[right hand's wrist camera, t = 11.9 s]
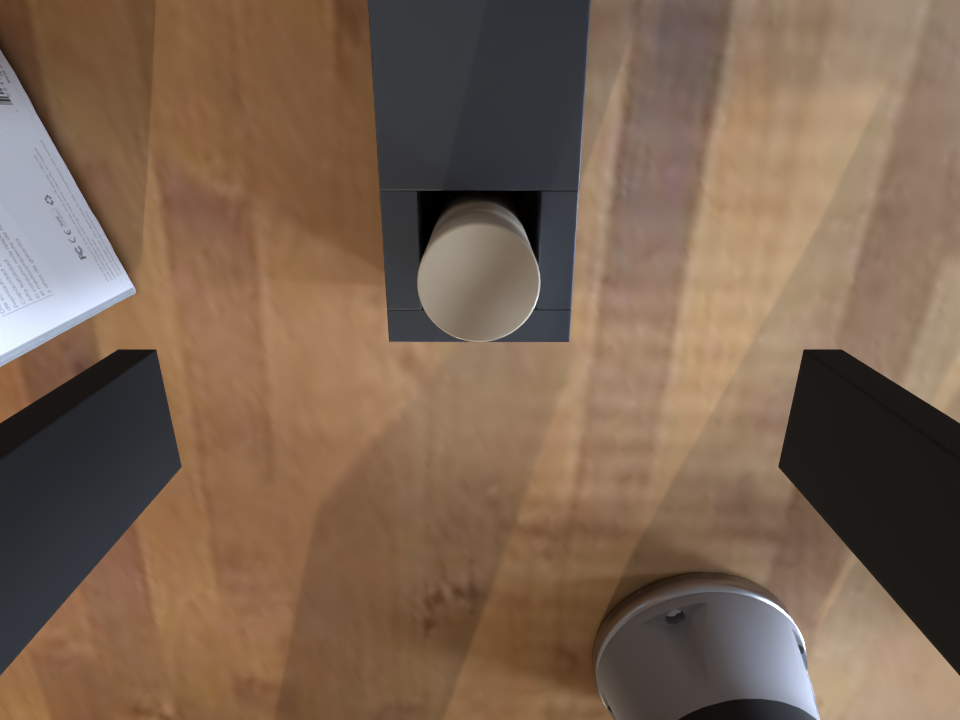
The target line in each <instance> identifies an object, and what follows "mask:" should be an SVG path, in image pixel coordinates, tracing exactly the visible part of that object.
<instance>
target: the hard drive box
mask: <svg viewBox="0 0 960 720" xmlns="http://www.w3.org/2000/svg"><path fill="white" fill-rule="evenodd" d="M135 293H136V290H135V288H134V286H133V284H132V282H131V281H130V279H129V277H128V275H127V273H126V272H125V270H124V268H123V266H122V264H121V263H120V261H119V259H118V258H117V256H116V254H115V252H114V250H113V248H112V245H111V244H110V242H109V241H108V239H107V237H106V235H105V233H104V231H103V229H102V228H101V226H100V224H99V222H98V220H97V219H96V217H95V216H94V214H93V213H92V211H91V210H90V208H89V206H88V204H87V202H86V200H85V199H84V197H83V195H82V194H81V192H80V190H79V188H78V186H77V185H76V183H75V181H74V179H73V177H72V175H71V174H70V172H69V170H68V168H67V166H66V165H65V163H64V161H63V160H62V158H61V156H60V154H59V153H58V151H57V149H56V147H55V146H54V144H53V142H52V140H51V138H50V136H49V135H48V133H47V131H46V129H45V127H44V125H43V124H42V122H41V120H40V119H39V117H38V115H37V114H36V112H35V110H34V108H33V105H32V103H31V100H30V99H29V97H28V95H27V94H26V92H25V90H24V89H23V87H22V85H21V83H20V81H19V80H18V78H17V76H16V74H15V72H14V71H13V69H12V68H11V66H10V64H9V63H8V61H7V60H6V58H5V57H4V55H3V53H2V52H1V50H0V367H1V366H3V365H5V364H6V363H8V362H10V361H12V360H14V359H16V358H17V357H19V356H21V355H23V354H25V353H27V352H28V351H30V350H32V349H34V348H36V347H38V346H39V345H41V344H43V343H45V342H47V341H48V340H50V339H52V338H54V337H56V336H57V335H59V334H61V333H63V332H65V331H67V330H68V329H70V328H72V327H74V326H76V325H78V324H80V323H81V322H83V321H85V320H87V319H89V318H91V317H92V316H94V315H96V314H98V313H100V312H101V311H103V310H105V309H107V308H109V307H110V306H112V305H114V304H116V303H118V302H120V301H122V300H124V299H126V298H128V297H130V296H131V295H134V294H135Z"/></svg>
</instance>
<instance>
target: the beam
mask: <svg viewBox="0 0 960 720" xmlns="http://www.w3.org/2000/svg"><path fill="white" fill-rule="evenodd" d="M590 2H591V0H368V10H369V26H370V42H371V58H372V74H373V91H374V107H375V123H376V139H377V155H378V171H379V187H380V190H381V191H380V203H381V219H382V235H383V251H384V267H385V283H386V299H387V309H388V310H387V315H388V331H389V342H472V341H465V340H462V339H458V338H456V337H453V336H451V335H449V334H447V333H446V332H444V331H443V330H441V329H440V328H439V327H438V326H437V325H436V324H434V323H433V321H432V320H431V319H430V318H429V317H428V315H427V313H426V312H425V310H424V308H423V306H422V304H421V301H420V298H419V294H418V288H417V277H418V270H419V266H420V263H421V260H422V258H423V255H424V253H425V250H426V248H427V245H428V243H429V240H430V238H431V235H432V233H433V230H434V227H435V219H434V191H525V212H524V230H525V233H526V235H527V238H528V240H529V243H530V246H531V248H532V251H533V253H534V256H535V258H536V261H537V264H538V267H539V272H540V292H539V297H538V300H537V303H536V306H535V308H534V310H533V312H532V313H531V315H530V316H529V318H528V319H527V320H526V321H525V322H524V323H523V324H522V325H521V326H520V327H519V328H518V329H516V330H515V331H513V332H512V333H510V334H508V335H507V336H505V337H502V338H499V339H496V340H492V341H486V342H569V341H570V325H571V308H572V293H573V276H574V260H575V244H576V228H577V212H578V195H579V192H578V190H579V180H580V164H581V147H582V131H583V115H584V99H585V83H586V66H587V50H588V34H589V18H590Z"/></svg>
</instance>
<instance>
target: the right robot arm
mask: <svg viewBox="0 0 960 720" xmlns="http://www.w3.org/2000/svg"><path fill="white" fill-rule="evenodd" d="M180 468H181V462H180V457H179V453H178V448H177V443H176V439H175V434H174V430H173V425H172V420H171V416H170V411H169V407H168V402H167V397H166V393H165V388H164V383H163V379H162V374H161V370H160V365H159V360H158V356H157V351H156V350H117V351H115V352H114V353H112V354H110V355H109V356H107V357H106V358H104V359H102V360H101V361H99V362H98V363H96V364H95V365H93V366H91V367H90V368H88V369H87V370H85V371H83V372H82V373H80V374H79V375H77V376H75V377H74V378H72V379H71V380H69V381H67V382H66V383H64V384H63V385H61V386H59V387H58V388H56V389H55V390H53V391H51V392H50V393H48V394H47V395H45V396H43V397H42V398H40V399H39V400H37V401H35V402H34V403H32V404H31V405H29V406H27V407H26V408H24V409H23V410H21V411H19V412H18V413H16V414H15V415H13V416H11V417H10V418H8V419H7V420H5V421H3V422H2V423H0V675H1V674H2V673H3V672H4V671H5V669H6V668H7V667H8V666H9V665H10V664H11V663H12V661H13V660H14V659H15V658H16V657H17V656H18V655H19V653H20V652H21V651H22V650H23V649H24V648H25V646H26V645H27V644H28V643H29V642H30V641H31V640H32V638H33V637H34V636H35V635H36V634H37V633H38V631H39V630H40V629H41V628H42V627H43V626H44V625H45V623H46V622H47V621H48V620H49V619H50V618H51V617H52V615H53V614H54V613H55V612H56V611H57V610H58V608H59V607H60V606H61V605H62V604H63V603H64V602H65V600H66V599H67V598H68V597H69V596H70V595H71V594H72V592H73V591H74V590H75V589H76V588H77V587H78V585H79V584H80V583H81V582H82V581H83V580H84V579H85V577H86V576H87V575H88V574H89V573H90V572H91V570H92V569H93V568H94V567H95V566H96V565H97V564H98V562H99V561H100V560H101V559H102V558H103V557H104V556H105V554H106V553H107V552H108V551H109V550H110V549H111V547H112V546H113V545H114V544H115V543H116V542H117V541H118V539H119V538H120V537H121V536H122V535H123V534H124V532H125V531H126V530H127V529H128V528H129V527H130V526H131V524H132V523H133V522H134V521H135V520H136V519H137V518H138V516H139V515H140V514H141V513H142V512H143V511H144V509H145V508H146V507H147V506H148V505H149V504H150V503H151V501H152V500H153V499H154V498H155V497H156V496H157V495H158V493H159V492H160V491H161V490H162V489H163V488H164V486H165V485H166V484H167V483H168V482H169V481H170V480H171V478H172V477H173V476H174V475H175V474H176V473H177V471H178V470H179V469H180ZM779 468H780V469H781V470H782V472H783V473H784V474H785V475H786V476H787V477H788V478H789V480H790V481H791V482H792V483H793V484H794V485H795V486H796V488H797V489H798V490H799V491H800V492H801V493H802V495H803V496H804V497H805V498H806V499H807V500H808V501H809V503H810V504H811V505H812V506H813V507H814V508H815V509H816V511H817V512H818V513H819V514H820V515H821V516H822V518H823V519H824V520H825V521H826V522H827V523H828V524H829V526H830V527H831V528H832V529H833V530H834V531H835V533H836V534H837V535H838V536H839V537H840V538H841V539H842V541H843V542H844V543H845V544H846V545H847V546H848V547H849V549H850V550H851V551H852V552H853V553H854V554H855V556H856V557H857V558H858V559H859V560H860V561H861V562H862V564H863V565H864V566H865V567H866V568H867V569H868V570H869V572H870V573H871V574H872V575H873V576H874V577H875V579H876V580H877V581H878V582H879V583H880V584H881V585H882V587H883V588H884V589H885V590H886V591H887V592H888V594H889V595H890V596H891V597H892V598H893V599H894V600H895V602H896V603H897V604H898V605H899V606H900V607H901V608H902V610H903V611H904V612H905V613H906V614H907V615H908V617H909V618H910V619H911V620H912V621H913V622H914V623H915V625H916V626H917V627H918V628H919V629H920V630H921V631H922V633H923V634H924V635H925V636H926V637H927V638H928V640H929V641H930V642H931V643H932V644H933V645H934V646H935V648H936V649H937V650H938V651H939V652H940V653H941V655H942V656H943V657H944V658H945V659H946V660H947V661H948V663H949V664H950V665H951V666H952V667H953V668H954V669H955V671H956V672H957V673H958V674H959V675H960V423H958V422H957V421H955V420H953V419H952V418H950V417H949V416H947V415H945V414H944V413H942V412H941V411H939V410H937V409H936V408H934V407H933V406H931V405H929V404H928V403H926V402H925V401H923V400H921V399H920V398H918V397H917V396H915V395H913V394H912V393H910V392H909V391H907V390H905V389H904V388H902V387H901V386H899V385H897V384H896V383H894V382H893V381H891V380H889V379H888V378H886V377H885V376H883V375H881V374H880V373H878V372H877V371H875V370H873V369H872V368H870V367H869V366H867V365H865V364H864V363H862V362H861V361H859V360H857V359H856V358H854V357H853V356H851V355H850V354H848V353H846V352H845V351H843V350H804V351H803V356H802V360H801V365H800V370H799V374H798V379H797V383H796V388H795V393H794V397H793V402H792V407H791V411H790V416H789V420H788V425H787V430H786V434H785V439H784V443H783V448H782V453H781V457H780V462H779ZM592 662H593V668H594V673H595V678H596V683H597V688H598V691H599V695H600V697H601V699H602V701H603V703H604V705H605V706H606V708H607V709H608V711H609V713H610V714H611V716H612V717H613V718H614V720H820V718H819V714H818V709H817V704H816V699H815V695H814V691H813V687H812V684H811V681H810V678H809V675H808V673H807V655H806V651H805V645H804V641H803V638H802V635H801V633H800V631H799V629H798V628H797V626H796V624H795V623H794V621H793V620H792V618H791V616H790V615H789V613H788V612H787V610H786V608H785V607H784V605H783V604H782V603H781V602H780V600H779V599H778V598H777V597H775V596H774V595H773V594H772V593H771V592H769V591H768V590H767V589H765V588H763V587H762V586H760V585H758V584H756V583H754V582H752V581H749V580H746V579H744V578H740V577H736V576H732V575H726V574H717V573H697V574H687V575H681V576H676V577H672V578H668V579H665V580H662V581H659V582H656V583H654V584H651V585H649V586H647V587H645V588H643V589H641V590H639V591H637V592H636V593H634V594H632V595H631V596H630V597H628V598H627V599H625V600H624V601H623V602H622V603H620V604H619V605H618V606H617V607H616V608H615V609H614V610H613V611H612V612H611V613H610V614H609V616H608V617H607V618H606V619H605V621H604V622H603V624H602V625H601V627H600V629H599V631H598V633H597V636H596V638H595V641H594V645H593V652H592Z"/></svg>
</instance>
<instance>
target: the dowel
mask: <svg viewBox="0 0 960 720" xmlns="http://www.w3.org/2000/svg"><path fill="white" fill-rule="evenodd" d="M417 288H418V294H419V298H420V301H421V304H422V306H423V308H424V310H425V312H426V313H427V315H428V317H429V318H430V319H431V320H432V321H433V323H434V324H436V325H437V326H438V327H439V328H440V329H441V330H443V331H444V332H446V333H447V334H449V335H451V336H453V337H456V338H458V339H462V340H465V341H472V342H486V341H492V340H496V339H499V338H502V337H505V336H507V335H508V334H510V333H512V332H513V331H515V330H516V329H518V328H519V327H520V326H521V325H522V324H523V323H524V322H525V321H526V320H527V319H528V318H529V316H530V315H531V313H532V312H533V310H534V308H535V306H536V303H537V300H538V297H539V292H540V272H539V267H538V264H537V261H536V258H535V256H534V253H533V251H532V248H531V246H530V243H529V240H528V238H527V235H526V233H525V230H524V228H523V225H522V223H521V220H520V217H519V215H518V212H517V210H516V207H515V205H514V202H513V200H512V198H511V197H510V195H509V194H508V193H507V192H506V191H452V192H451V193H450V194H449V195H448V197H447V198H446V200H445V202H444V205H443V207H442V210H441V212H440V215H439V217H438V220H437V222H436V225H435V227H434V230H433V233H432V235H431V238H430V240H429V243H428V245H427V248H426V250H425V253H424V255H423V258H422V260H421V263H420V266H419V270H418V277H417Z"/></svg>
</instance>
